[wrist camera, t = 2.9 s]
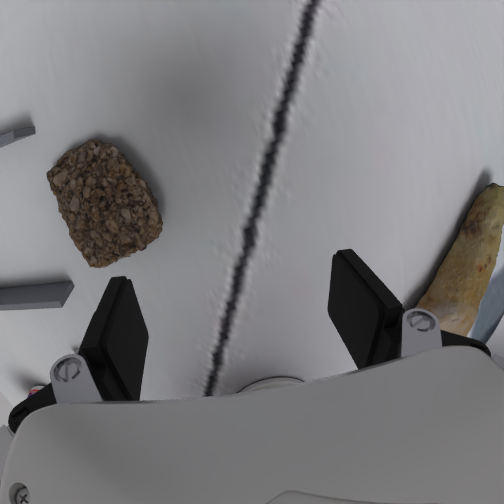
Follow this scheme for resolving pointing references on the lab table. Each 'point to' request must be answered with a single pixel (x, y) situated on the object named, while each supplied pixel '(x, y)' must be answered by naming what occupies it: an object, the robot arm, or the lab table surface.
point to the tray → (33, 294)
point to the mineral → (468, 265)
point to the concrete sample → (104, 203)
